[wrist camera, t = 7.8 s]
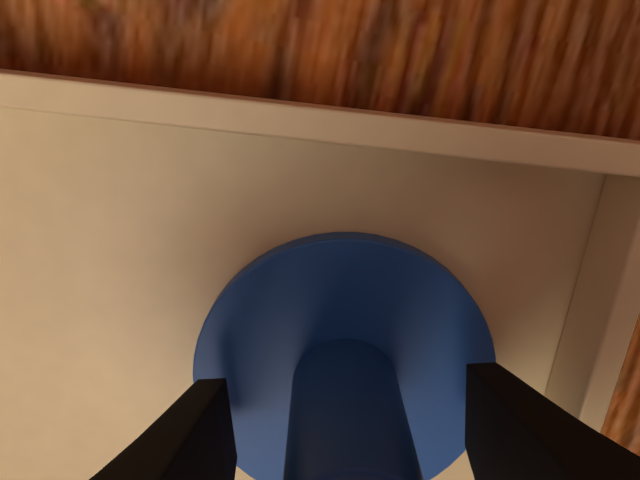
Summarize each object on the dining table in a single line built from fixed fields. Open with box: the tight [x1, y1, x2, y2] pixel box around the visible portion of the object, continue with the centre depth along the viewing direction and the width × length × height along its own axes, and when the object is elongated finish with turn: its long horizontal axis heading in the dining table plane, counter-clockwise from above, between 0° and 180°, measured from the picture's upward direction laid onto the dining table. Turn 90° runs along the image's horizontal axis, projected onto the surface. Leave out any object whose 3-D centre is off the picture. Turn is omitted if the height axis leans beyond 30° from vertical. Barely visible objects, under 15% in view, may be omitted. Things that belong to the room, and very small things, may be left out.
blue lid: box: [193, 232, 496, 480], centre depth 10 cm, size 7×7×5 cm
